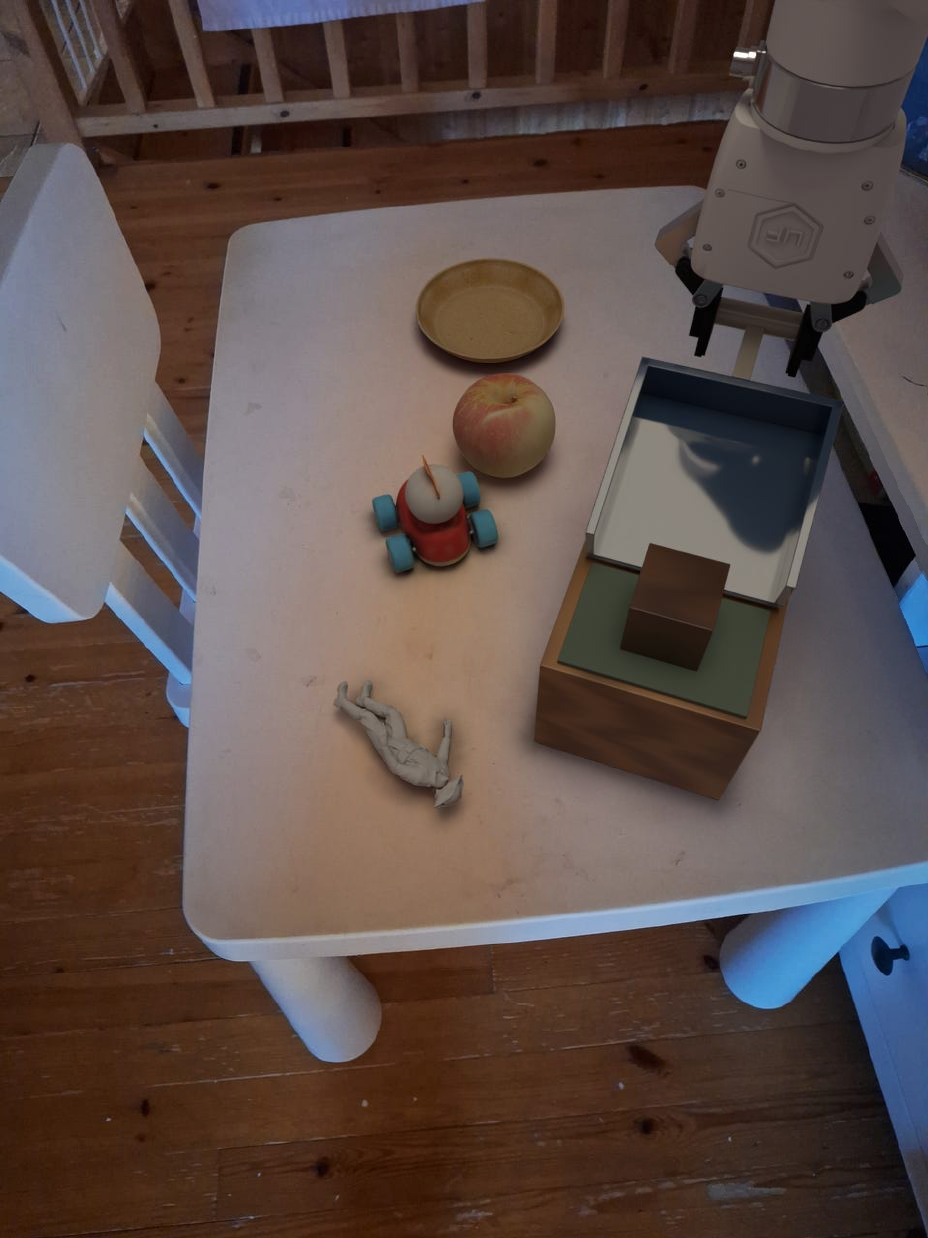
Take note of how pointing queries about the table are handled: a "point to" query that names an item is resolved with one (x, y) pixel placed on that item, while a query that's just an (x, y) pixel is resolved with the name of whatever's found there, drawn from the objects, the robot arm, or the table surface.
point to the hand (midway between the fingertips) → (748, 351)
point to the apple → (504, 425)
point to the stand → (646, 712)
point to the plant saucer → (489, 309)
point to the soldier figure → (403, 746)
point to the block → (674, 606)
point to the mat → (713, 686)
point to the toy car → (434, 517)
